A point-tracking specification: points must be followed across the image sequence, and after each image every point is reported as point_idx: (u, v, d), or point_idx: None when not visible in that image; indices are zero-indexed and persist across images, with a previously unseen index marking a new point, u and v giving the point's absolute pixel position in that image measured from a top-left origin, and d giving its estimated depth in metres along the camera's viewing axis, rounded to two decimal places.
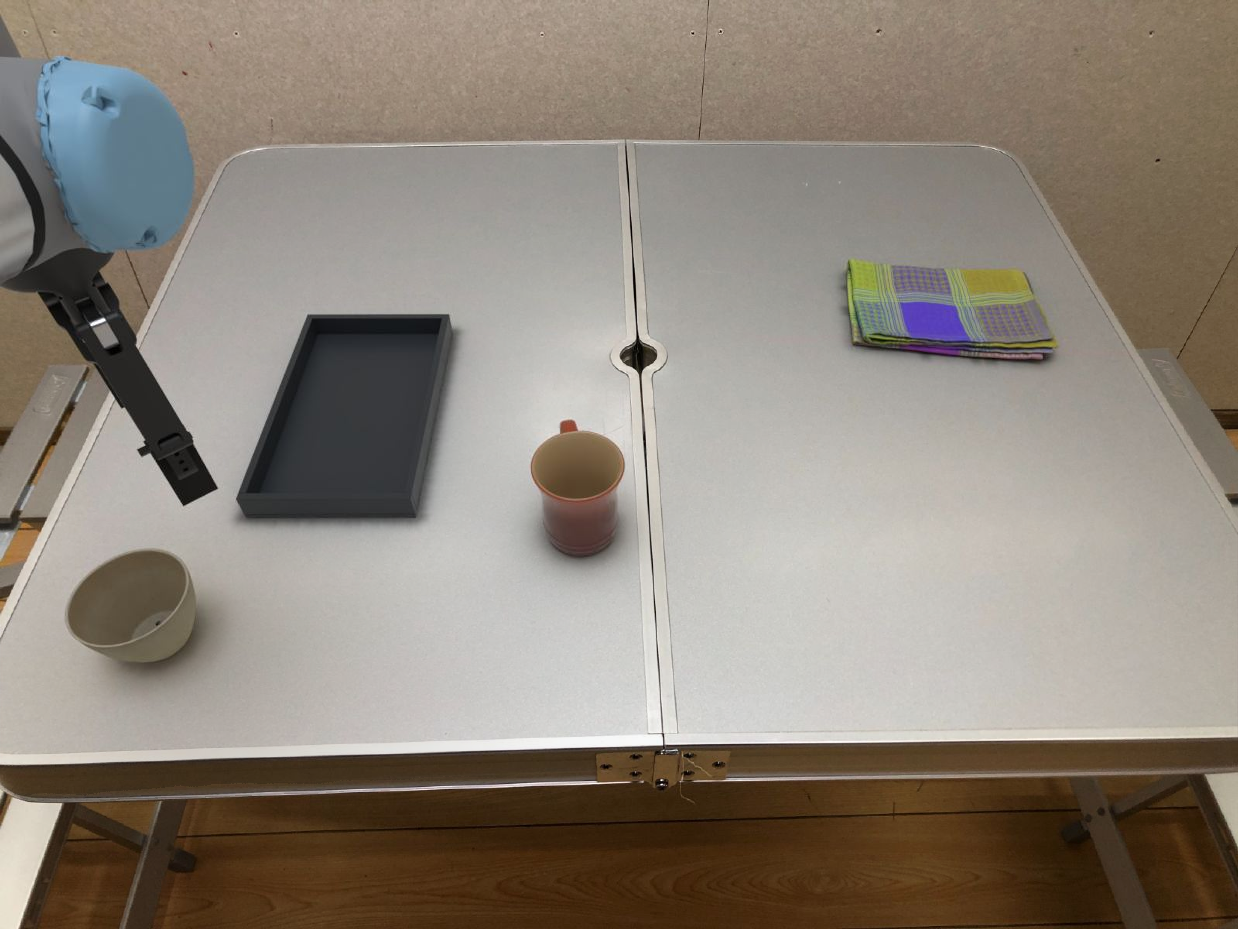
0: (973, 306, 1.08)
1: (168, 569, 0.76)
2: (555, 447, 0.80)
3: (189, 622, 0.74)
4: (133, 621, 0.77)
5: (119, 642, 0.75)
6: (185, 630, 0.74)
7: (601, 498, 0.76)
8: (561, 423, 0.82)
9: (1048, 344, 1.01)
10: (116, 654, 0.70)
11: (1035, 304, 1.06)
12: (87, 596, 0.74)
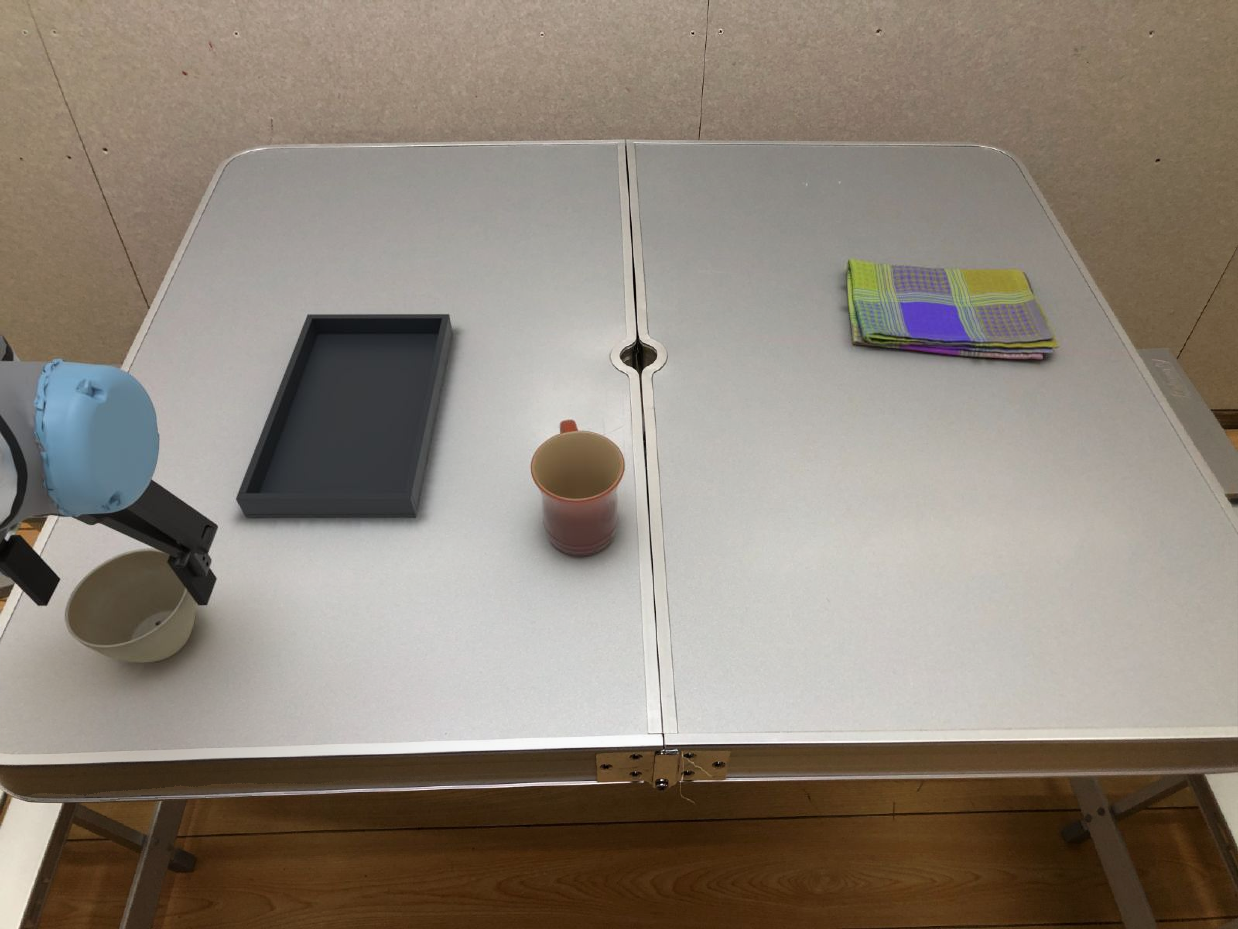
0: (973, 306, 1.08)
1: (168, 569, 0.76)
2: (555, 447, 0.80)
3: (189, 622, 0.74)
4: (133, 621, 0.77)
5: (119, 642, 0.75)
6: (185, 630, 0.74)
7: (601, 498, 0.76)
8: (561, 423, 0.82)
9: (1048, 344, 1.01)
10: (116, 654, 0.70)
11: (1035, 304, 1.06)
12: (87, 596, 0.74)
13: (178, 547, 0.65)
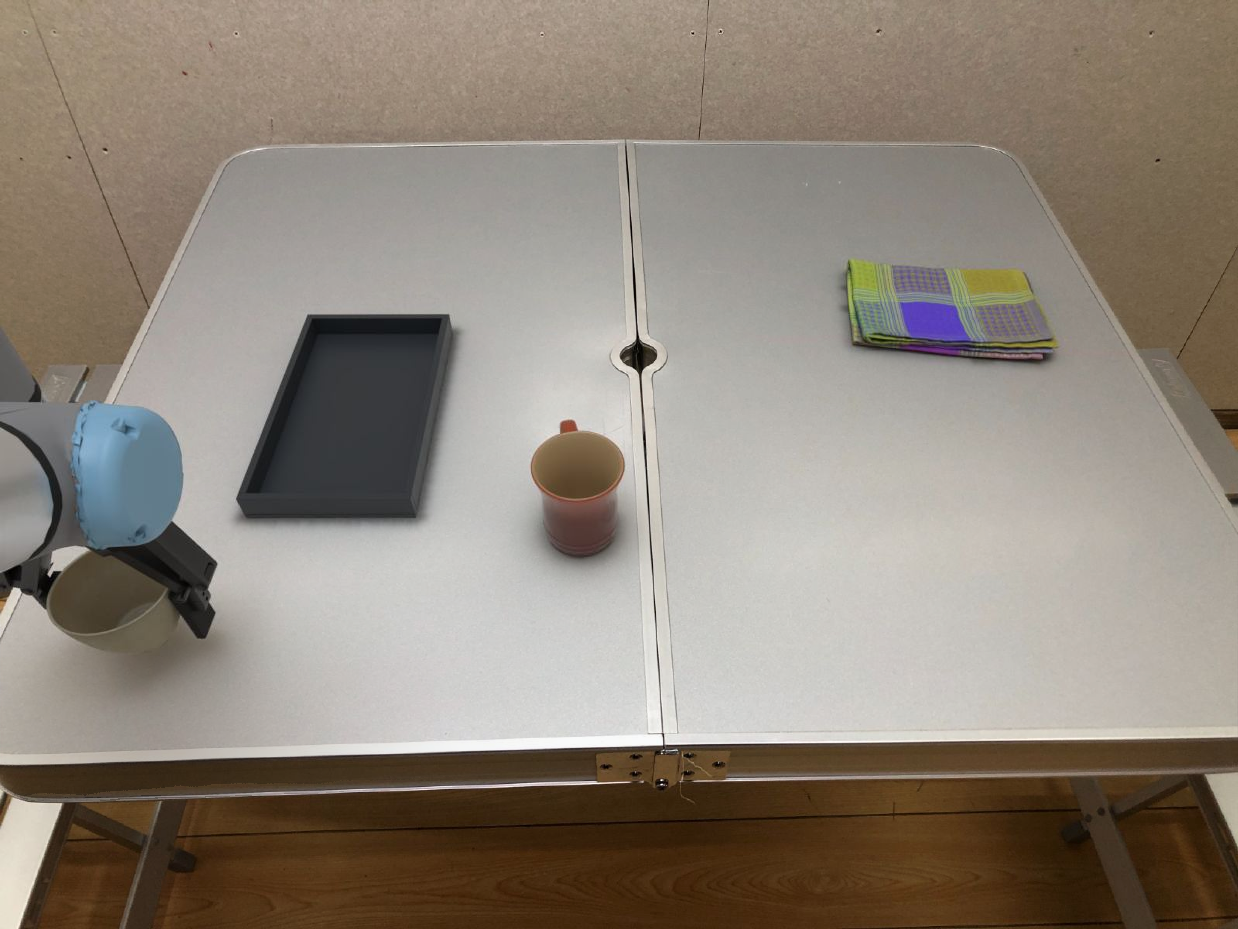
0: (973, 306, 1.08)
1: None
2: (555, 447, 0.80)
3: (175, 612, 0.72)
4: (118, 612, 0.75)
5: None
6: (171, 620, 0.71)
7: (601, 498, 0.76)
8: (561, 423, 0.82)
9: (1048, 344, 1.01)
10: (99, 643, 0.68)
11: (1035, 304, 1.06)
12: (71, 585, 0.71)
13: (181, 583, 0.68)
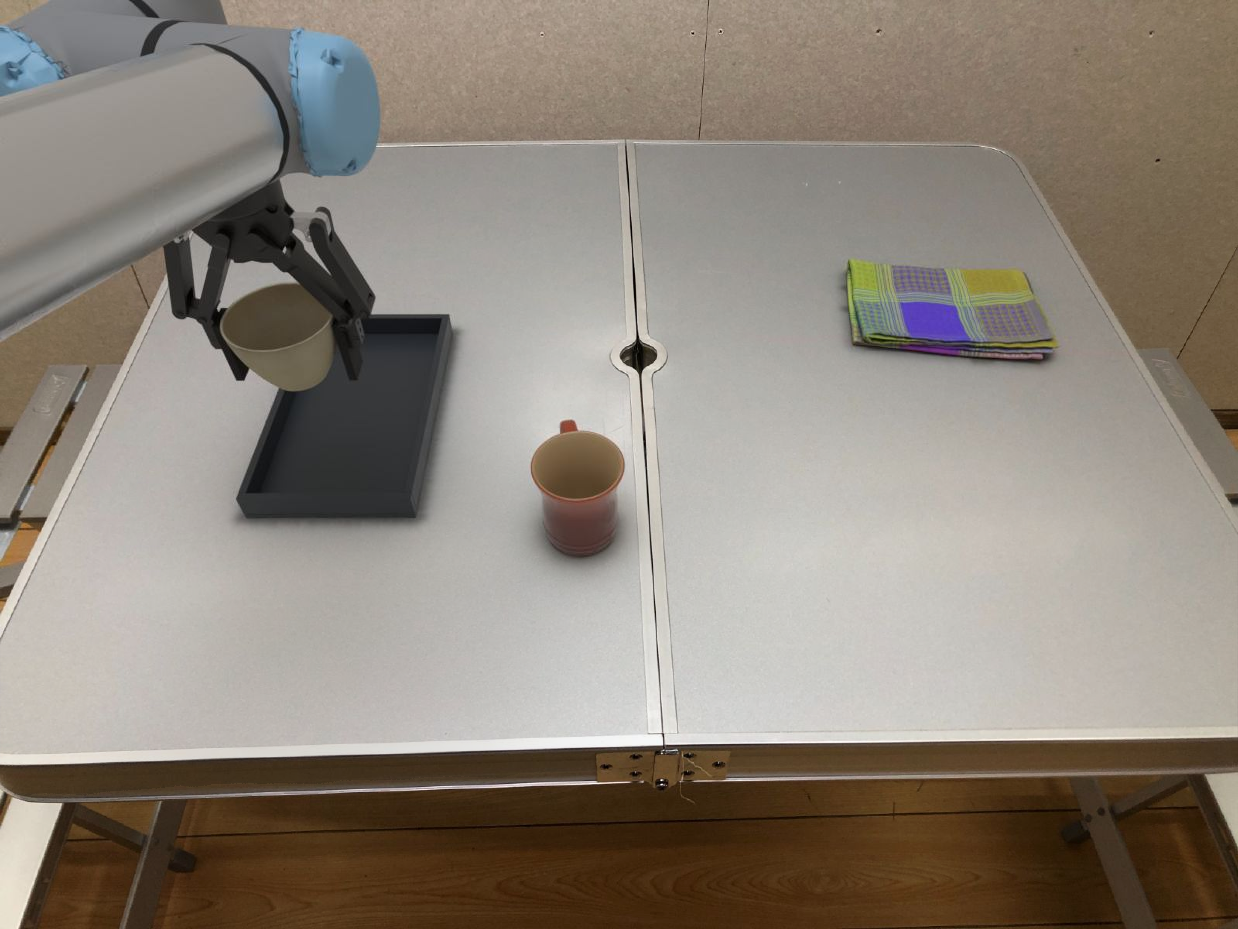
0: (973, 306, 1.08)
1: (308, 305, 0.79)
2: (555, 447, 0.80)
3: (333, 348, 0.77)
4: None
5: None
6: (330, 355, 0.77)
7: (601, 498, 0.76)
8: (561, 423, 0.82)
9: (1048, 344, 1.01)
10: (271, 363, 0.73)
11: (1035, 304, 1.06)
12: (236, 322, 0.77)
13: (345, 310, 0.73)
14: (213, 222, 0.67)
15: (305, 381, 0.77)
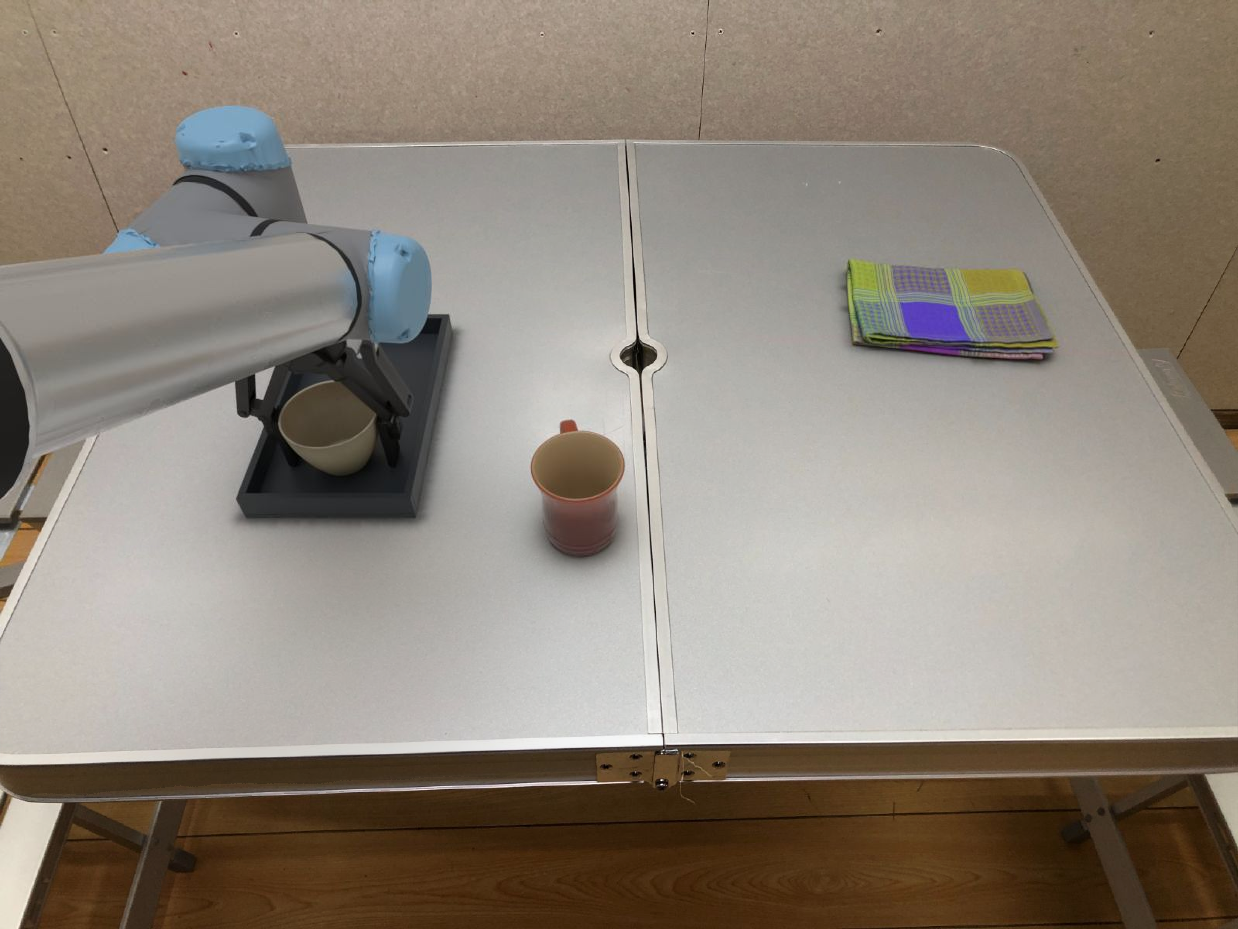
0: (973, 306, 1.08)
1: (352, 399, 0.90)
2: (555, 447, 0.80)
3: (375, 439, 0.88)
4: (321, 445, 0.91)
5: None
6: (372, 445, 0.88)
7: (601, 498, 0.76)
8: (561, 423, 0.82)
9: (1048, 344, 1.01)
10: (323, 457, 0.84)
11: (1035, 304, 1.06)
12: (291, 417, 0.87)
13: (388, 410, 0.84)
14: None
15: (351, 469, 0.88)
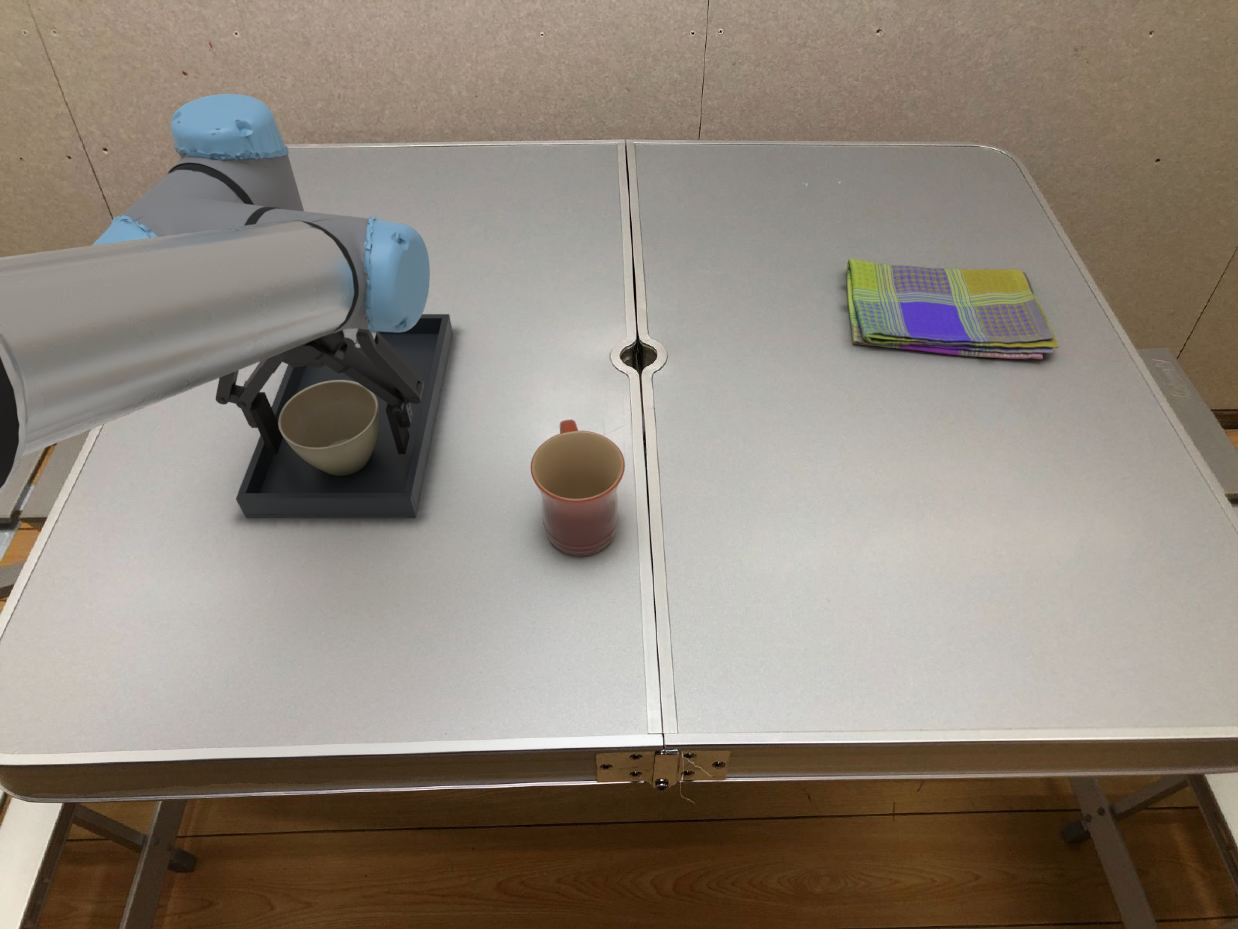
0: (973, 306, 1.08)
1: (352, 399, 0.90)
2: (555, 447, 0.80)
3: (375, 439, 0.88)
4: (321, 445, 0.91)
5: None
6: (372, 446, 0.88)
7: (601, 498, 0.76)
8: (561, 423, 0.82)
9: (1048, 344, 1.01)
10: (323, 457, 0.84)
11: (1035, 304, 1.06)
12: (291, 417, 0.87)
13: (397, 397, 0.83)
14: None
15: (351, 469, 0.88)
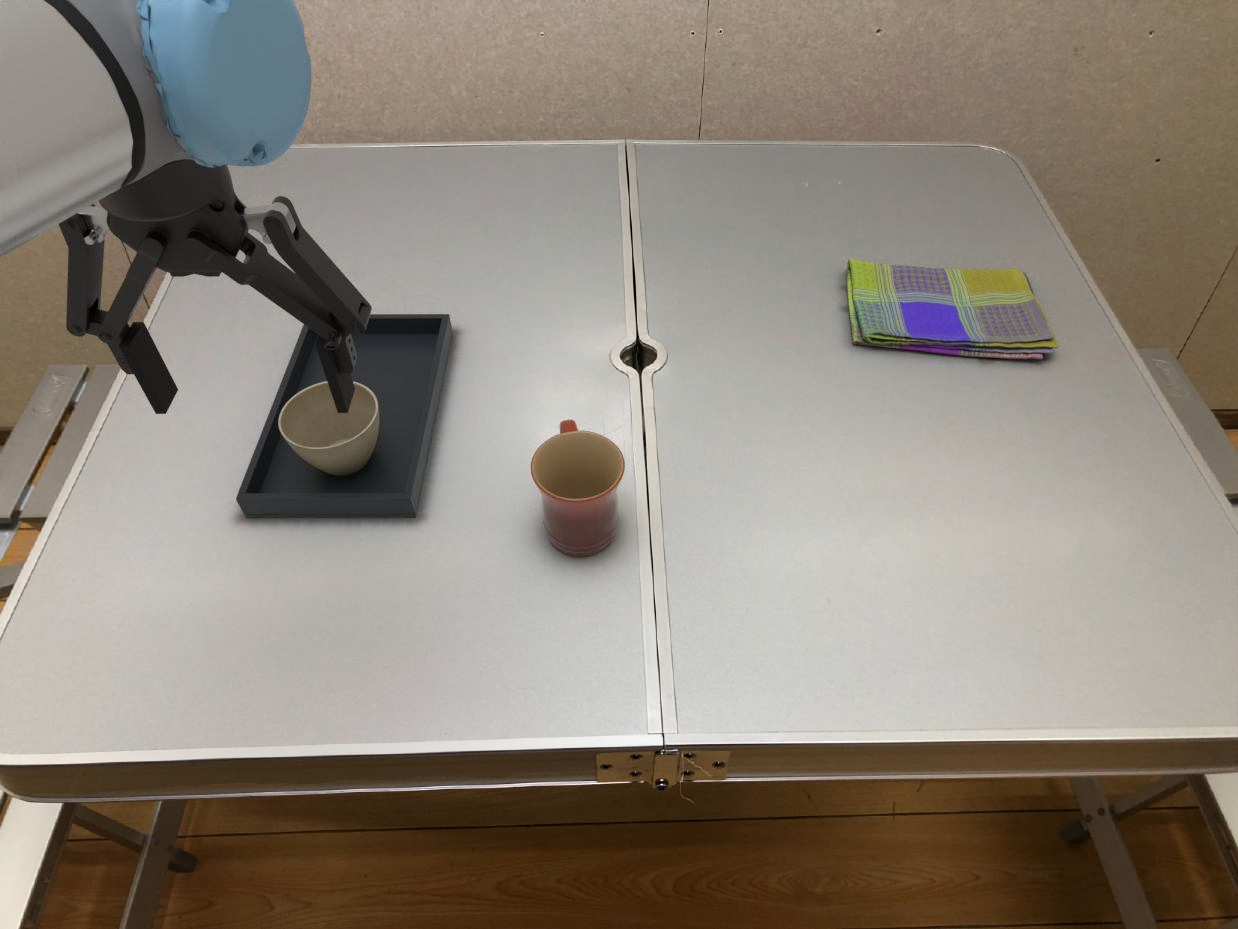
0: (973, 306, 1.08)
1: (352, 399, 0.90)
2: (555, 447, 0.80)
3: (375, 439, 0.88)
4: (321, 445, 0.91)
5: None
6: (372, 446, 0.88)
7: (601, 498, 0.76)
8: (561, 423, 0.82)
9: (1048, 344, 1.01)
10: (323, 457, 0.84)
11: (1035, 304, 1.06)
12: (291, 417, 0.87)
13: (331, 324, 0.57)
14: (143, 227, 0.52)
15: (351, 469, 0.88)
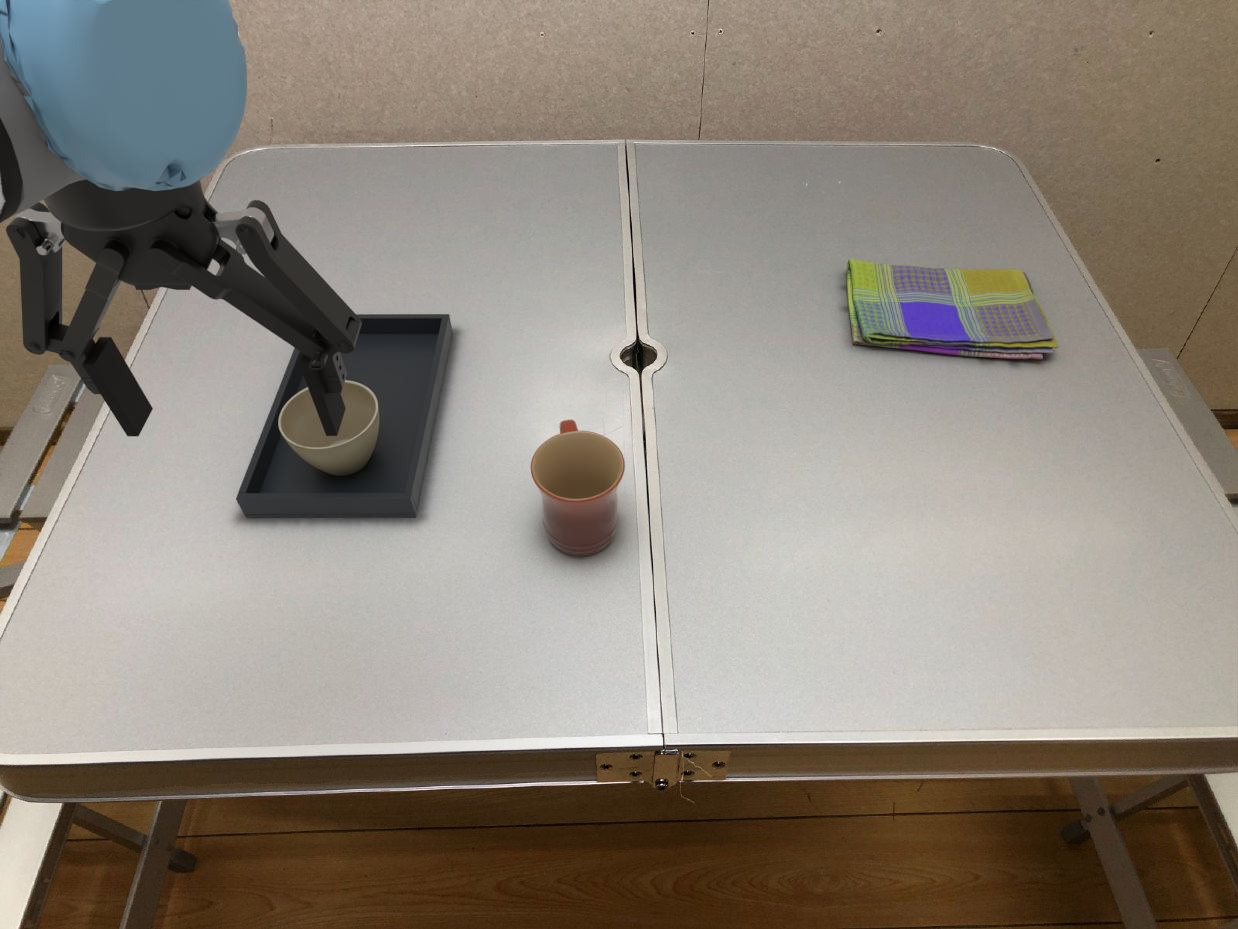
0: (973, 306, 1.08)
1: (352, 399, 0.90)
2: (555, 447, 0.80)
3: (375, 439, 0.88)
4: (321, 445, 0.91)
5: None
6: (372, 446, 0.88)
7: (601, 498, 0.76)
8: (561, 423, 0.82)
9: (1048, 344, 1.01)
10: (323, 457, 0.84)
11: (1035, 304, 1.06)
12: (291, 417, 0.87)
13: (316, 342, 0.52)
14: (102, 235, 0.46)
15: (351, 469, 0.88)
